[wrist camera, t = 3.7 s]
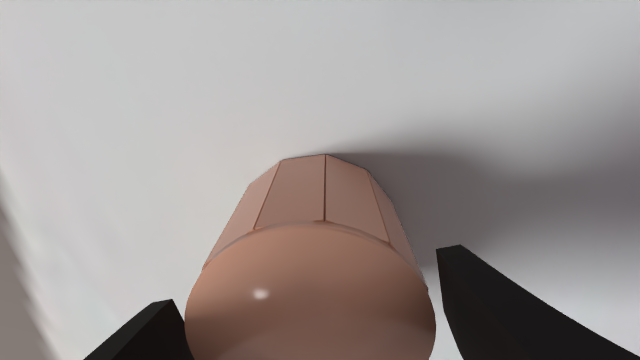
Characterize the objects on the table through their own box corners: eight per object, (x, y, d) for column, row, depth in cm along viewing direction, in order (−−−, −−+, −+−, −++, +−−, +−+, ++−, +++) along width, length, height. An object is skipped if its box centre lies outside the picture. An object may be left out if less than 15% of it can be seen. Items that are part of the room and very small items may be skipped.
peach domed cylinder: (422, 189, 12) (486, 284, 7) (355, 308, 14) (370, 440, 9) (266, 129, 11) (220, 189, 6) (220, 264, 13) (162, 383, 8)
